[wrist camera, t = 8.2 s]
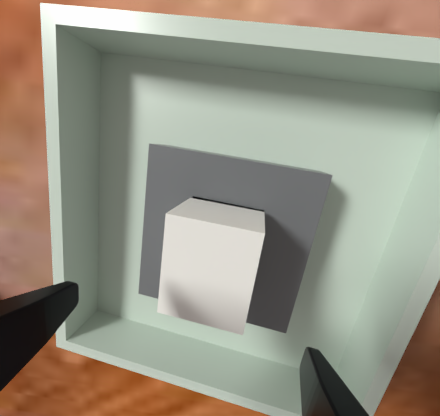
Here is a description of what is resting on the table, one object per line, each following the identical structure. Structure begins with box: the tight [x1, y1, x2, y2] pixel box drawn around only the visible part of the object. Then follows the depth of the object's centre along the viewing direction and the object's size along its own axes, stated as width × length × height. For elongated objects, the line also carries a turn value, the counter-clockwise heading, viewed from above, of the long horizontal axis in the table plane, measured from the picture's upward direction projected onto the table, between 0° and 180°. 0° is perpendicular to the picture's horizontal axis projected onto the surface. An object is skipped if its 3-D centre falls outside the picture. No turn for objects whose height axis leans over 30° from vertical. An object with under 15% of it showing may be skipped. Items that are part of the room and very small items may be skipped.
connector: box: [157, 198, 265, 335], centre depth 15 cm, size 5×6×8 cm
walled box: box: [40, 3, 440, 416], centre depth 18 cm, size 26×26×5 cm
